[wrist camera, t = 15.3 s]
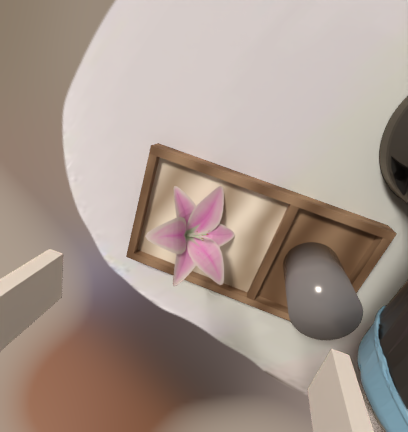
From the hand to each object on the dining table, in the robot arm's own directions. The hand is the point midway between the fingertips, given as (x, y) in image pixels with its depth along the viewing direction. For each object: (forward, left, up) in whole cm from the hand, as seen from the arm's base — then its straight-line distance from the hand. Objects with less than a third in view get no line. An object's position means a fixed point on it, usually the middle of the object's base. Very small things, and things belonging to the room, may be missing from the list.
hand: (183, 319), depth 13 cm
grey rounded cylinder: (-13, +6, -23) cm, 27 cm away
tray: (-4, +6, -24) cm, 25 cm away
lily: (+2, +5, -23) cm, 24 cm away
